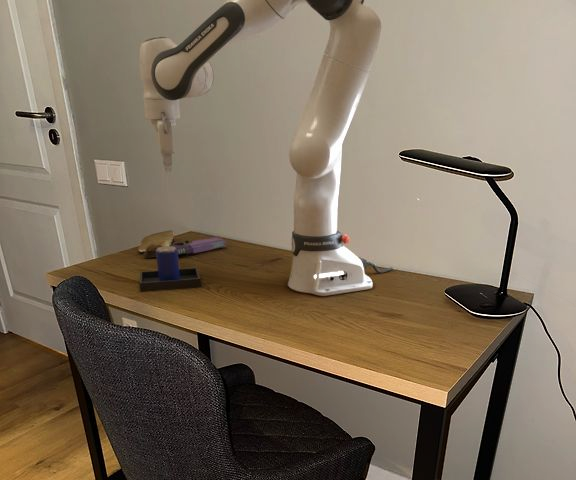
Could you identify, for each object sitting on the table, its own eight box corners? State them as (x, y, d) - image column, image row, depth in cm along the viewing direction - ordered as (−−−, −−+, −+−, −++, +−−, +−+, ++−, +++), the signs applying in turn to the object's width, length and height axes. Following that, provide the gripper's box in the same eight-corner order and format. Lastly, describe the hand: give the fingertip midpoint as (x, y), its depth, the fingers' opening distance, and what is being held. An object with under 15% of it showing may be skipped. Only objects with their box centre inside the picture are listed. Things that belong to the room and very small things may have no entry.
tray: (197, 275, 162) (197, 267, 161) (201, 287, 153) (200, 278, 152) (140, 279, 159) (139, 271, 158) (140, 291, 150) (139, 283, 149)
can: (179, 277, 159) (176, 245, 154) (180, 283, 154) (177, 250, 150) (159, 279, 158) (155, 246, 153) (159, 285, 153) (155, 252, 149)
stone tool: (173, 255, 177) (177, 237, 199) (170, 242, 175) (175, 225, 197) (136, 262, 177) (144, 243, 199) (132, 249, 175) (141, 231, 197)
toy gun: (208, 243, 194) (226, 249, 188) (158, 253, 182) (175, 259, 176) (208, 231, 192) (226, 236, 186) (157, 240, 181) (174, 246, 174)
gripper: (177, 113, 139) (182, 173, 146) (172, 109, 157) (177, 163, 163) (150, 113, 138) (157, 174, 144) (148, 109, 155) (154, 164, 162)
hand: (167, 168), depth 154 cm, fingers open, 8 cm apart
